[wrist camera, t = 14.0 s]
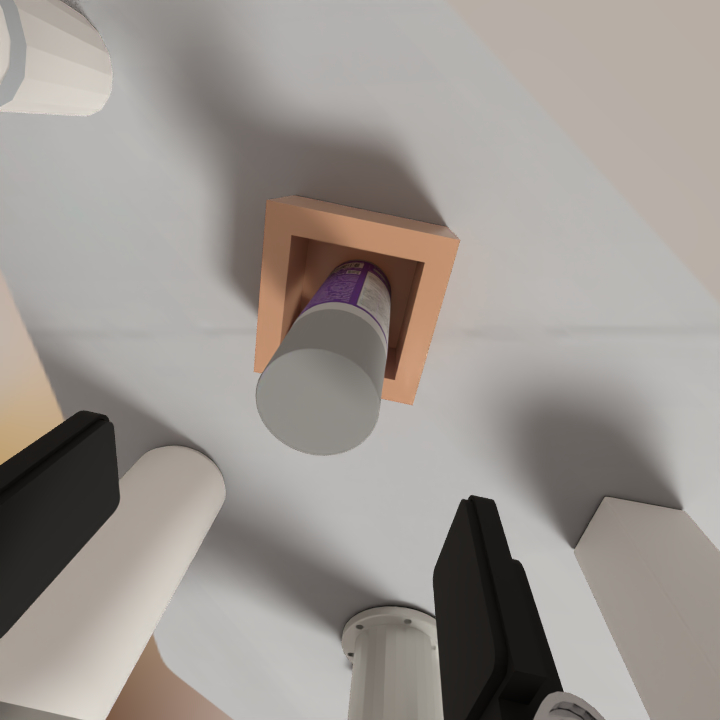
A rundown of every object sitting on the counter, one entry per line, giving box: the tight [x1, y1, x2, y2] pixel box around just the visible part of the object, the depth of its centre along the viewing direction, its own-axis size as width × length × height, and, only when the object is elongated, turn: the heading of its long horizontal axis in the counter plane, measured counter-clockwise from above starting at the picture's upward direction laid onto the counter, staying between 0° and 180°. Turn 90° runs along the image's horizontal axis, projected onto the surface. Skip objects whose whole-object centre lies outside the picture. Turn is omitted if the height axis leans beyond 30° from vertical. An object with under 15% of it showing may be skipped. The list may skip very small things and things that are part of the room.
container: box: [256, 259, 391, 456], centre depth 20 cm, size 5×5×15 cm
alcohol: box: [0, 445, 226, 720], centre depth 24 cm, size 9×9×30 cm
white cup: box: [0, 0, 113, 116], centre depth 21 cm, size 7×7×7 cm
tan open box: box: [254, 195, 460, 405], centre depth 25 cm, size 10×10×6 cm
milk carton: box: [574, 497, 720, 720], centre depth 27 cm, size 7×7×19 cm
